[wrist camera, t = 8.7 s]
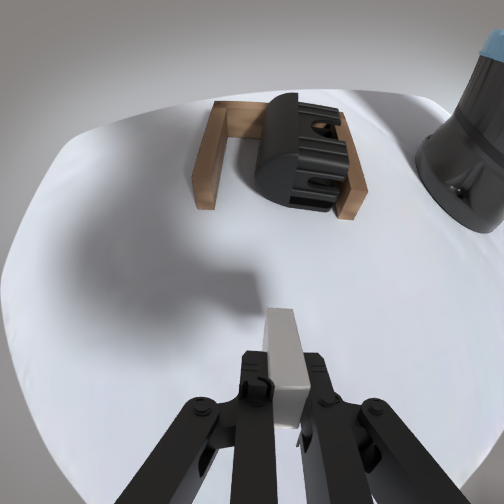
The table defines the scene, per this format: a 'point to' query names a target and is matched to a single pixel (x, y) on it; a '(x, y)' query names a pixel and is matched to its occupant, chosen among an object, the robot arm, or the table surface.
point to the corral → (250, 126)
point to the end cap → (300, 155)
